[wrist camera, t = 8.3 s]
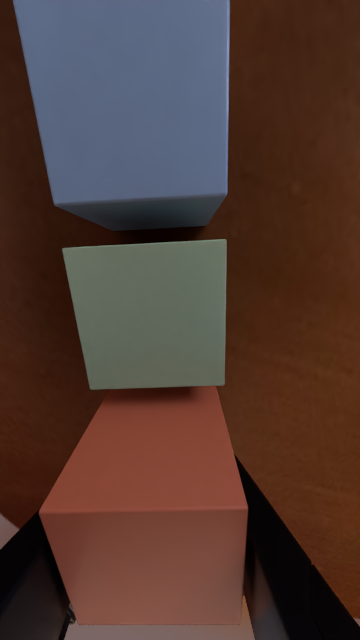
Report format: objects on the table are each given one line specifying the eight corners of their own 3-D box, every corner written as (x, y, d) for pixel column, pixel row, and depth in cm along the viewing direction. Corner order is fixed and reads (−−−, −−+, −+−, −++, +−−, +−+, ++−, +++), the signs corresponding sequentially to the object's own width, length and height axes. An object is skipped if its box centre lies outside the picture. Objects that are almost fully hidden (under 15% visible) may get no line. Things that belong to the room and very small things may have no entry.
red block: (123, 466, 10) (77, 626, 6) (110, 386, 9) (36, 512, 4) (215, 464, 10) (241, 625, 5) (215, 383, 8) (249, 508, 4)
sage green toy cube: (208, 336, 11) (224, 385, 7) (126, 340, 11) (89, 390, 7) (207, 248, 10) (227, 238, 5) (114, 253, 10) (60, 247, 5)
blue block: (207, 226, 9) (227, 195, 5) (111, 231, 10) (52, 206, 5) (206, 104, 8) (232, -75, 4) (96, 112, 8) (0, -51, 4)
